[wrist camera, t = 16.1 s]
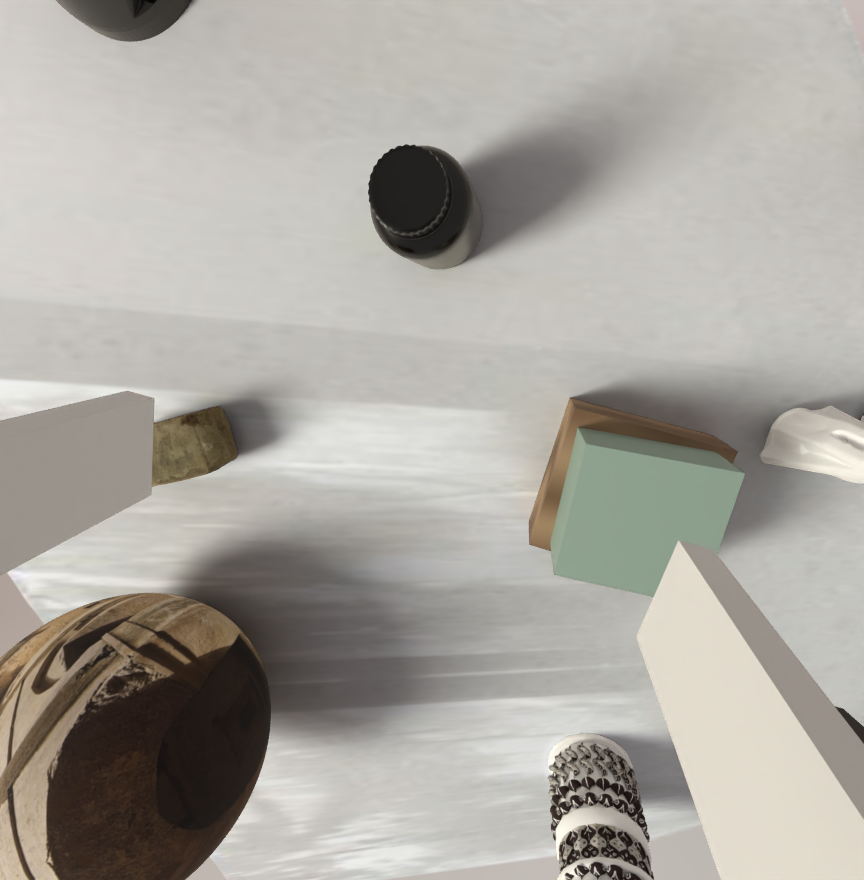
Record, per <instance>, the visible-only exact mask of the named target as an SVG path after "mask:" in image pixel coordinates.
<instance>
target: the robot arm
mask: <svg viewBox="0 0 864 880" xmlns="http://www.w3.org/2000/svg"><path fill="white" fill-rule="evenodd" d="M56 1H57V2H58V3H59V4H60V5H61V6H62V7H63V8H64V9H66V10H67V11H68V12H69V13H70V14H71V15H73V16H74V17H75V18H77V19H78V20H79V21H81V22H82V23H84V24H85V25H87V26H88V27H90V28H92V29H93V30H95V31H96V32H98V33H100V34H102V35H104V36H106V37H109V38H111V39H115V40H120V41H141V40H145V39H149V38H152V37H154V36H156V35H158V34H160V33H162V32H163V31H165V30H166V29H168V28H169V27H170V26H171V25H173V24H174V23H175V22H176V21H177V20H178V19H179V18H180V16H181V15H182V14H183V13H184V11H185V10H186V9H187V7H188V6H189V4H190V2H191V1H192V0H56ZM153 426H154V398H152V397H148V396H144V395H141V394H137V393H133V392H130V391H125V392H120V393H116V394H112V395H108V396H103V397H99V398H95V399H91V400H86V401H82V402H78V403H74V404H69V405H65V406H61V407H57V408H53V409H48V410H44V411H40V412H36V413H31V414H27V415H23V416H19V417H14V418H10V419H6V420H2V421H0V576H1V575H3V574H4V573H6V572H8V571H10V570H12V569H14V568H16V567H17V566H19V565H21V564H23V563H25V562H27V561H29V560H31V559H32V558H34V557H36V556H38V555H40V554H42V553H44V552H46V551H47V550H49V549H51V548H53V547H55V546H57V545H59V544H60V543H62V542H64V541H66V540H68V539H70V538H72V537H74V536H75V535H77V534H79V533H81V532H83V531H85V530H87V529H89V528H90V527H92V526H94V525H96V524H98V523H100V522H102V521H103V520H105V519H107V518H109V517H111V516H113V515H115V514H117V513H118V512H120V511H122V510H124V509H126V508H128V507H130V506H132V505H133V504H135V503H137V502H139V501H141V500H143V499H145V498H146V497H148V496H150V495H151V491H152V458H153ZM637 640H638V643H639V646H640V649H641V652H642V655H643V658H644V660H645V663H646V666H647V669H648V672H649V675H650V678H651V681H652V683H653V686H654V689H655V692H656V695H657V698H658V701H659V703H660V706H661V709H662V712H663V715H664V718H665V721H666V724H667V726H668V729H669V732H670V735H671V738H672V741H673V744H674V747H675V749H676V752H677V755H678V758H679V761H680V764H681V767H682V769H683V772H684V775H685V778H686V781H687V784H688V787H689V790H690V792H691V795H692V798H693V801H694V804H695V807H696V810H697V813H698V815H699V818H700V821H701V824H702V827H703V830H704V832H705V835H706V838H707V841H708V844H709V847H710V850H711V853H712V856H713V858H714V861H715V864H716V867H717V870H718V873H719V875H720V878H721V880H864V727H863V726H862V725H861V724H860V723H859V722H858V721H856V720H855V719H854V718H853V717H852V716H851V715H850V714H849V713H847V712H846V711H845V710H844V709H842V708H839V707H835V706H834V705H833V704H832V702H831V701H830V700H829V698H828V697H827V696H826V695H825V693H824V692H823V691H822V689H821V688H820V687H819V686H818V684H817V683H816V682H815V680H814V679H813V678H812V677H811V675H810V674H809V673H808V671H807V670H806V669H805V668H804V666H803V665H802V664H801V662H800V661H799V660H798V659H797V657H796V656H795V655H794V653H793V652H792V651H791V649H790V648H789V647H788V646H787V644H786V643H785V642H784V640H783V639H782V638H781V637H780V635H779V634H778V633H777V631H776V630H775V629H774V628H773V626H772V625H771V624H770V622H769V621H768V620H767V619H766V617H765V616H764V615H763V613H762V612H761V611H760V609H759V608H758V607H757V606H756V604H755V603H754V602H753V600H752V599H751V598H750V597H749V595H748V594H747V593H746V591H745V590H744V589H743V588H742V586H741V585H740V584H739V582H738V581H737V580H736V579H735V577H734V576H733V575H732V573H731V572H730V571H729V570H728V568H727V567H726V566H725V564H724V563H723V562H722V560H721V559H720V558H719V557H718V555H717V554H716V553H715V551H714V550H713V549H709V548H706V547H702V546H698V545H694V544H691V543H687V542H683V541H680V540H678V542H677V545H676V547H675V549H674V552H673V554H672V556H671V559H670V561H669V563H668V565H667V568H666V570H665V572H664V575H663V577H662V579H661V582H660V584H659V586H658V588H657V591H656V593H655V595H654V598H653V600H652V602H651V605H650V607H649V609H648V612H647V614H646V616H645V618H644V621H643V623H642V625H641V628H640V630H639V632H638V635H637Z"/></svg>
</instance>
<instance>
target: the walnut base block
mask: <svg viewBox="0 0 864 880" xmlns="http://www.w3.org/2000/svg"><path fill="white" fill-rule="evenodd" d="M578 427H580V428H586V429H592V430H597V431H603V432H608V433H614V434H619V435H625V436H630V437H636V438H642V439H647V440H653V441H658V442H664V443H669V444H675V445H680V446H686V447H692V448H697V449H703V450H708V451H714V452H716V453H718V454H719V455H721V456H722V457H723V458H725V459H726V460H727V461H729V462H730V463H733V461H734V458H735V456H736V454H737V452H738V451H736V450H735V449H733V448H731V447H730V446H728V445H727V444H725V443H724V442H722V441H721V440H719V439H718V438H716V437H715V436H712V435H708V434H704V433H701V432H697V431H693V430H689V429H686V428H682V427H678V426H674V425H671V424H667V423H663V422H659V421H656V420H652V419H648V418H644V417H641V416H637V415H633V414H629V413H625V412H622V411H618V410H614V409H610V408H607V407H603V406H599V405H595V404H592V403H588V402H584V401H580V400H577V399H573V398H569V402H568V405H567V408H566V411H565V414H564V417H563V420H562V423H561V426H560V429H559V432H558V435H557V438H556V441H555V444H554V447H553V450H552V453H551V456H550V459H549V462H548V465H547V468H546V471H545V474H544V477H543V480H542V483H541V486H540V489H539V492H538V495H537V498H536V501H535V505H534V508H533V511H532V514H531V517H530V520H529V545H533V546H536V547H539V548H542V549H546V550H549V551H551V546H550V541H551V537H552V533H553V529H554V525H555V520H556V516H557V512H558V508H559V504H560V499H561V495H562V491H563V487H564V483H565V479H566V474H567V470H568V466H569V462H570V458H571V453H572V449H573V445H574V441H575V437H576V432H577V428H578Z"/></svg>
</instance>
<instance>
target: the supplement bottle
mask: <svg viewBox="0 0 864 880" xmlns="http://www.w3.org/2000/svg"><path fill="white" fill-rule="evenodd" d="M368 185H369V190H368V194H369V196H370V197H369V202H370V209H371V216H372V220H373V224H374V226H375V229H376V231H377V233H378V235H379V236H380V238H381V239H382V241H383V242H384V243H385V244H386V245H387V246H388V247H389V248H390V249H392V250H393V251H394V252H396V253H397V254H399V255H401V256H403V257H405V258H407V259H409V260H411V261H413V262H415V263H418V264H420V265H422V266H424V267H427V268H431V269H447V268H451V267H454V266H456V265H458V264H460V263H461V262H463V261H464V260H465V259H466V258H467V257H468V256H469V255H470V254H471V253H472V252H473V250H474V249H475V247H476V245H477V243H478V241H479V238H480V235H481V229H482V215H481V210H480V206H479V203H478V201H477V198H476V196H475V193H474V191H473V189H472V186H471V184H470V181H469V179H468V177H467V175H466V173H465V171H464V170H463V168H462V167H461V165H460V164H459V163H458V162H457V161H456V160H455V159H454V158H453V157H452V156H451V155H450V154H448V153H447V152H445V151H443V150H441V149H438V148H435V147H431V146H416V145H411V146H409V145H407V144H406V145H404V146H397V147H396V148H395V149H390V150H389V152H388V153H385V154H384V155H383V156H382V158H381V159H379V160H378V162H377V164H376V165H375V166H374V168H373V172H372V173H371V175H370V181H369V183H368Z"/></svg>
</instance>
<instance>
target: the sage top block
mask: <svg viewBox="0 0 864 880" xmlns="http://www.w3.org/2000/svg"><path fill="white" fill-rule="evenodd" d="M744 476H745V473H744V472H743V471H741V470H740V469H739V468H737V467H736V466H734V465H733V464H732V463H730V462H729V461H727V460H726V459H725V458H723V457H722V456H721V455H719V454H718V453H716V452H714V451H708V450H703V449H697V448H692V447H686V446H680V445H675V444H669V443H664V442H658V441H653V440H647V439H642V438H636V437H630V436H625V435H619V434H614V433H608V432H603V431H597V430H592V429H586V428H580V427H578V428H577V432H576V437H575V441H574V445H573V449H572V453H571V458H570V462H569V466H568V470H567V474H566V479H565V483H564V487H563V491H562V495H561V499H560V504H559V508H558V512H557V516H556V520H555V525H554V529H553V533H552V537H551V541H550V546H551V555H552V563H553V572H554V575H558V576H562V577H567V578H571V579H576V580H580V581H585V582H589V583H594V584H598V585H603V586H607V587H611V588H616V589H620V590H625V591H629V592H634V593H638V594H643V595H647V596H652V597H654V595H655V593H656V591H657V588H658V586H659V584H660V582H661V579H662V577H663V575H664V572H665V570H666V568H667V565H668V563H669V561H670V559H671V556H672V554H673V552H674V549H675V547H676V545H677V542H678V540H680V541H683V542H687V543H691V544H694V545H698V546H702V547H706V548H709V549H713V550H714V551H715V553H716V554H717V553H718V550H719V547H720V544H721V541H722V539H723V536H724V533H725V530H726V527H727V524H728V522H729V519H730V516H731V513H732V510H733V507H734V504H735V502H736V499H737V496H738V493H739V490H740V487H741V485H742V482H743V479H744Z"/></svg>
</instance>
